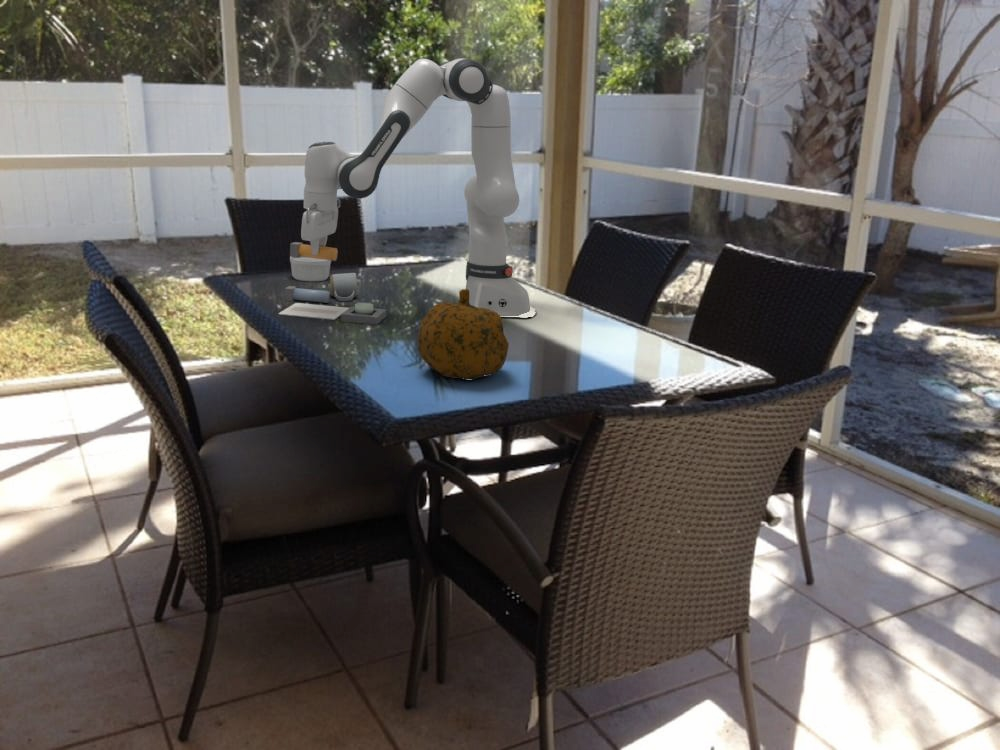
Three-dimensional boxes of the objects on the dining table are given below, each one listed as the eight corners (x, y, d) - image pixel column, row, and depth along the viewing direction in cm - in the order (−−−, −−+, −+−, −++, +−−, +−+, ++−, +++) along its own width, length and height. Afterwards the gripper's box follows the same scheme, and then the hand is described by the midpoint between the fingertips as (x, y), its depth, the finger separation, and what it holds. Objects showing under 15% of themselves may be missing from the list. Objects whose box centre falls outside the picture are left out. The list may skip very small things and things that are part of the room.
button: (375, 311, 262) (375, 303, 261) (370, 315, 257) (370, 307, 257) (357, 309, 263) (357, 302, 262) (352, 313, 258) (352, 305, 257)
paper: (349, 308, 271) (349, 307, 271) (334, 319, 257) (334, 318, 257) (295, 303, 273) (295, 302, 272) (278, 314, 259) (278, 313, 259)
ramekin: (298, 273, 316) (298, 252, 314) (336, 276, 314) (336, 255, 312) (284, 280, 303) (283, 259, 301) (323, 284, 302) (323, 262, 300)
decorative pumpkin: (436, 387, 203) (441, 294, 199) (406, 368, 221) (409, 282, 217) (521, 385, 211) (527, 295, 207) (485, 366, 229) (490, 284, 226)
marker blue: (329, 301, 278) (329, 289, 277) (326, 304, 275) (326, 292, 274) (289, 297, 280) (289, 286, 278) (284, 300, 276) (284, 288, 275)
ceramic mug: (329, 294, 288) (329, 270, 285) (355, 294, 290) (355, 270, 287) (331, 302, 278) (332, 277, 276) (358, 302, 280) (359, 278, 278)
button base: (386, 316, 265) (386, 309, 264) (376, 324, 255) (377, 317, 255) (351, 313, 266) (351, 306, 265) (340, 321, 256) (341, 314, 256)
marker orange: (337, 259, 263) (337, 246, 262) (333, 261, 259) (333, 248, 258) (294, 254, 264) (294, 242, 263) (289, 256, 261) (290, 243, 260)
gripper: (319, 207, 247) (317, 260, 251) (342, 200, 266) (340, 249, 270) (295, 205, 248) (294, 257, 252) (320, 198, 267) (319, 246, 271)
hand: (318, 253), depth 261 cm, fingers closed on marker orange, 3 cm apart
